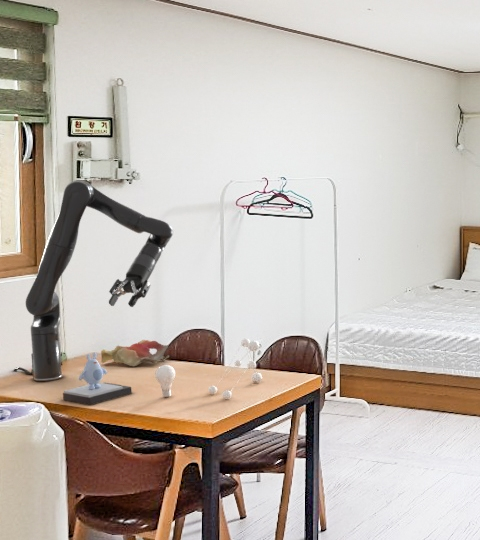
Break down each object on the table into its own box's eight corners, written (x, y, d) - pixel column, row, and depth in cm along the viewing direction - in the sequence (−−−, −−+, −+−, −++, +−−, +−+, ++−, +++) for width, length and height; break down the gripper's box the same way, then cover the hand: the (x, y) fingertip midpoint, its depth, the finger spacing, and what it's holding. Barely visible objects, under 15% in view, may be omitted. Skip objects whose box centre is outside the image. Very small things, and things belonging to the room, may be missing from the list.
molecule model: (275, 387, 310) (282, 341, 305) (225, 408, 288) (232, 358, 283) (244, 374, 315) (251, 328, 310) (193, 393, 293) (199, 344, 288)
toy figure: (86, 393, 287) (83, 357, 286) (74, 390, 290) (71, 355, 289) (113, 385, 296) (111, 351, 295) (101, 383, 299) (99, 349, 298)
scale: (63, 400, 291) (62, 390, 291) (104, 389, 305) (104, 380, 304) (90, 405, 284) (89, 395, 284) (131, 393, 298) (131, 384, 298)
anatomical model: (141, 370, 332) (135, 345, 331) (97, 376, 343) (91, 351, 342) (185, 355, 353) (179, 331, 352) (141, 361, 363) (136, 337, 362)
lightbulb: (170, 394, 297) (168, 362, 295) (180, 396, 293) (178, 364, 291) (153, 397, 292) (151, 365, 291) (163, 400, 288) (161, 368, 287)
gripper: (119, 262, 317) (98, 298, 307) (151, 263, 312) (131, 299, 302) (131, 274, 322) (110, 310, 313) (162, 276, 317) (142, 312, 308)
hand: (120, 305), depth 308 cm, fingers open, 8 cm apart
